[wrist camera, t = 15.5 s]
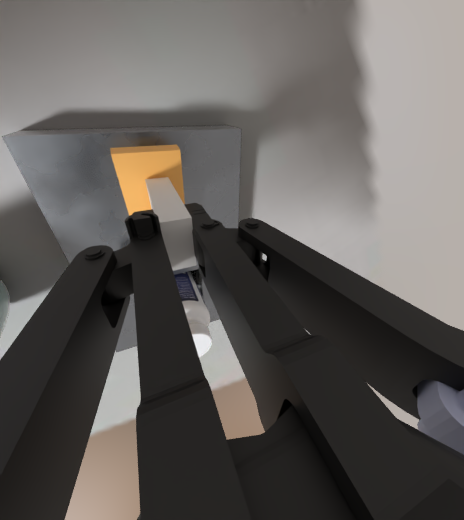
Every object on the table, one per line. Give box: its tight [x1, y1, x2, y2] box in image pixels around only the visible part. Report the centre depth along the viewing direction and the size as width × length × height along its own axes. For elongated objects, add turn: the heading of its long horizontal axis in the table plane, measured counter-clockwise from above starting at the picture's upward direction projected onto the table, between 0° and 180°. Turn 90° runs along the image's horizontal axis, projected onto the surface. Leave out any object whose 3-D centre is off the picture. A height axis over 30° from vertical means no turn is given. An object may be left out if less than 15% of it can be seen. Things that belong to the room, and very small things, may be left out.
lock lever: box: [110, 145, 185, 216], centre depth 17 cm, size 4×10×1 cm, turn 0°
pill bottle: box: [174, 271, 212, 357], centre depth 23 cm, size 5×5×10 cm
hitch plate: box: [2, 125, 241, 352], centre depth 22 cm, size 15×22×5 cm
